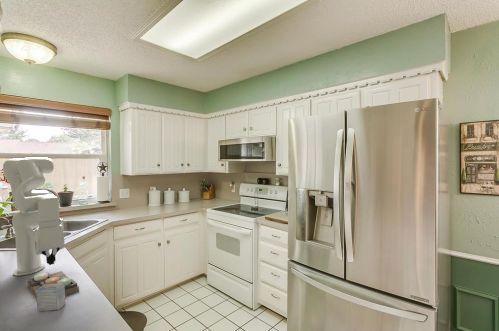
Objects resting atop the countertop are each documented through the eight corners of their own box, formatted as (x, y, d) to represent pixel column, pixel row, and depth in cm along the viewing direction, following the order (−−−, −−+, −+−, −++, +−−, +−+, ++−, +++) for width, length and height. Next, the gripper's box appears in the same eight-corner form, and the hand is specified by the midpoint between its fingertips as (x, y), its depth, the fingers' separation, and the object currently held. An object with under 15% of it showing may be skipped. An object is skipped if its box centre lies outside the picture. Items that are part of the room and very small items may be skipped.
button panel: (27, 285, 118) (27, 278, 118) (61, 275, 128) (61, 268, 128) (41, 304, 102) (41, 296, 102) (79, 291, 112) (78, 283, 112)
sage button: (55, 285, 111) (55, 281, 111) (69, 281, 115) (69, 276, 115) (59, 289, 108) (58, 284, 108) (72, 284, 112) (72, 280, 112)
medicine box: (66, 304, 102) (65, 282, 101) (58, 310, 97) (56, 288, 97) (45, 305, 101) (44, 283, 101) (36, 311, 97) (35, 289, 97)
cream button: (33, 279, 118) (32, 275, 118) (46, 275, 122) (46, 271, 121) (35, 282, 114) (35, 278, 114) (49, 278, 118) (49, 274, 118)
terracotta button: (44, 284, 115) (44, 280, 114) (57, 280, 118) (57, 275, 118) (47, 287, 111) (46, 283, 111) (60, 283, 115) (60, 278, 115)
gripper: (66, 219, 122) (68, 256, 123) (25, 226, 111) (27, 267, 112) (71, 221, 118) (73, 260, 118) (29, 229, 106) (31, 272, 107)
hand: (51, 263), depth 115 cm, fingers closed
